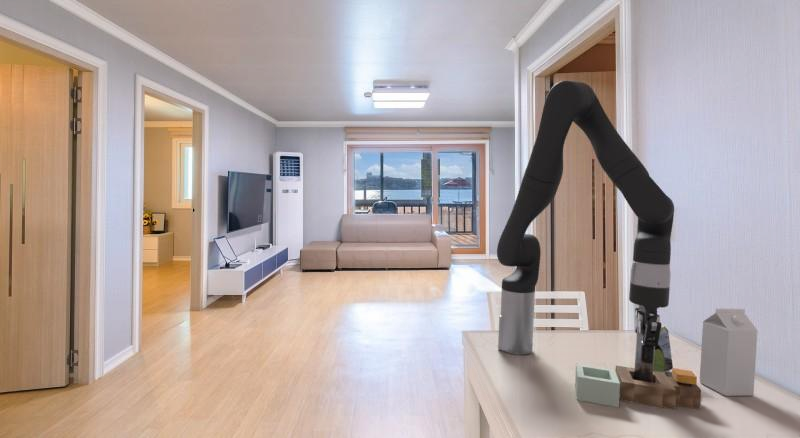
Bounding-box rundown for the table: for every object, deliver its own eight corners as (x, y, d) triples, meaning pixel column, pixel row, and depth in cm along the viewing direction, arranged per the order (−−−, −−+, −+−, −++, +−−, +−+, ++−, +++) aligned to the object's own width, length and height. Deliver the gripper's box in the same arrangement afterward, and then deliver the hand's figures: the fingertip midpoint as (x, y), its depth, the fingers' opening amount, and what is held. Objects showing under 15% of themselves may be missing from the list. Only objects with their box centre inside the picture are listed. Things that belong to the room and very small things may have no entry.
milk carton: (699, 382, 100) (703, 304, 99) (726, 382, 100) (731, 305, 100) (724, 396, 93) (729, 312, 92) (753, 396, 93) (759, 312, 93)
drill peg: (635, 385, 91) (639, 323, 91) (632, 379, 95) (636, 319, 94) (654, 389, 90) (658, 325, 89) (650, 382, 93) (654, 321, 93)
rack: (576, 399, 88) (577, 376, 88) (575, 384, 96) (576, 363, 96) (618, 407, 86) (619, 383, 85) (613, 391, 93) (614, 369, 93)
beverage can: (676, 376, 103) (679, 329, 102) (644, 373, 104) (647, 326, 104) (666, 367, 109) (668, 322, 109) (635, 364, 110) (638, 319, 110)
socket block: (621, 400, 89) (622, 381, 89) (614, 382, 98) (615, 365, 98) (704, 414, 84) (705, 395, 84) (689, 394, 93) (690, 376, 93)
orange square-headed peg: (675, 400, 88) (676, 374, 88) (670, 393, 92) (672, 368, 91) (695, 403, 87) (696, 377, 87) (690, 396, 90) (691, 370, 90)
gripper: (678, 290, 83) (673, 374, 84) (661, 279, 97) (656, 351, 97) (636, 286, 86) (631, 368, 87) (625, 276, 99) (620, 346, 100)
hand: (644, 358), depth 92 cm, fingers closed on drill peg, 3 cm apart
